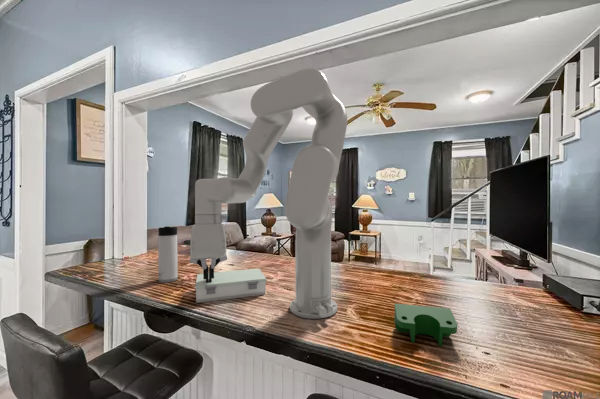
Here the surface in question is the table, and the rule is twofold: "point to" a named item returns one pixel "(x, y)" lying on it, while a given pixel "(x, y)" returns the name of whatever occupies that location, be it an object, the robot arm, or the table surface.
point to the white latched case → (230, 292)
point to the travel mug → (167, 254)
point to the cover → (231, 278)
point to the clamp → (425, 321)
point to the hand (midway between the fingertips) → (208, 281)
